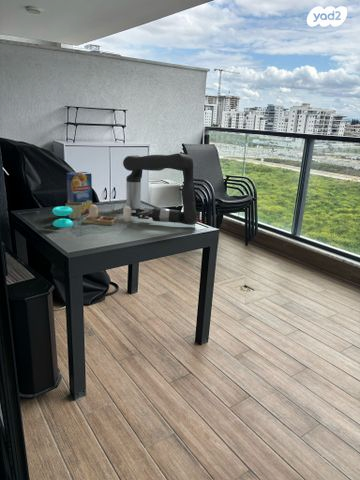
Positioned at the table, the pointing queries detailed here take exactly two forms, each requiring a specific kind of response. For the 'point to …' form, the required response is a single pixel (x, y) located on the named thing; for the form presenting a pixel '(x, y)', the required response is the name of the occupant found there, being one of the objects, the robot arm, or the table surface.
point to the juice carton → (80, 189)
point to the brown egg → (93, 212)
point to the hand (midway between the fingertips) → (133, 212)
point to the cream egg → (127, 213)
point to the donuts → (62, 212)
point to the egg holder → (101, 220)
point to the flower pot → (75, 209)
